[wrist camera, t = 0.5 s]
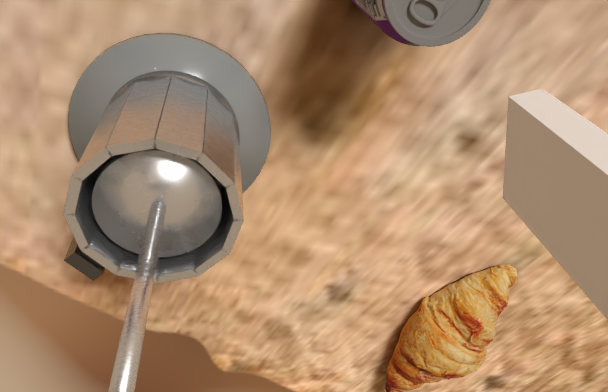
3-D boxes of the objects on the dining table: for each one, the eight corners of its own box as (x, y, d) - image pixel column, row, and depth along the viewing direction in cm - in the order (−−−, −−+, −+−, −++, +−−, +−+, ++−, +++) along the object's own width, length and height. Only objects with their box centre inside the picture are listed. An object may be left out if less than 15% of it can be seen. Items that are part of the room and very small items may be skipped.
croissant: (473, 228, 57) (477, 254, 49) (547, 283, 56) (563, 317, 49) (362, 351, 64) (351, 389, 57) (427, 400, 64) (424, 445, 56)
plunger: (66, 197, 32) (-90, 512, 16) (158, 120, 30) (84, 390, 14) (160, 268, 36) (110, 578, 20) (246, 204, 34) (266, 489, 18)
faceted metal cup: (56, 143, 41) (1, 231, 30) (172, 41, 38) (154, 100, 27) (157, 225, 46) (138, 322, 36) (265, 141, 43) (278, 221, 33)
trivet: (26, 121, 40) (23, 125, 39) (173, -14, 36) (172, -12, 36) (173, 240, 48) (172, 245, 47) (307, 139, 44) (308, 143, 44)
